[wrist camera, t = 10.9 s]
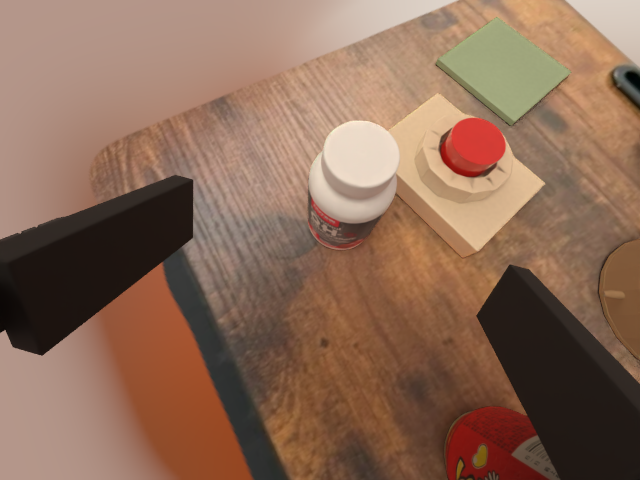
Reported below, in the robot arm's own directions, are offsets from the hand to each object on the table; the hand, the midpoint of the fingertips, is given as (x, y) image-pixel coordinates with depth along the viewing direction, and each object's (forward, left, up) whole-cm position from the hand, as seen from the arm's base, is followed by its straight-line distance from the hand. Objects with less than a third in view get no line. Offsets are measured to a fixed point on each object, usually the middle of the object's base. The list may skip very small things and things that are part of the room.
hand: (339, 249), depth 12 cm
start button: (0, +15, -7) cm, 16 cm away
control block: (0, +15, -11) cm, 18 cm away
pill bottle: (-3, +5, -11) cm, 12 cm away
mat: (-5, +29, -11) cm, 31 cm away
